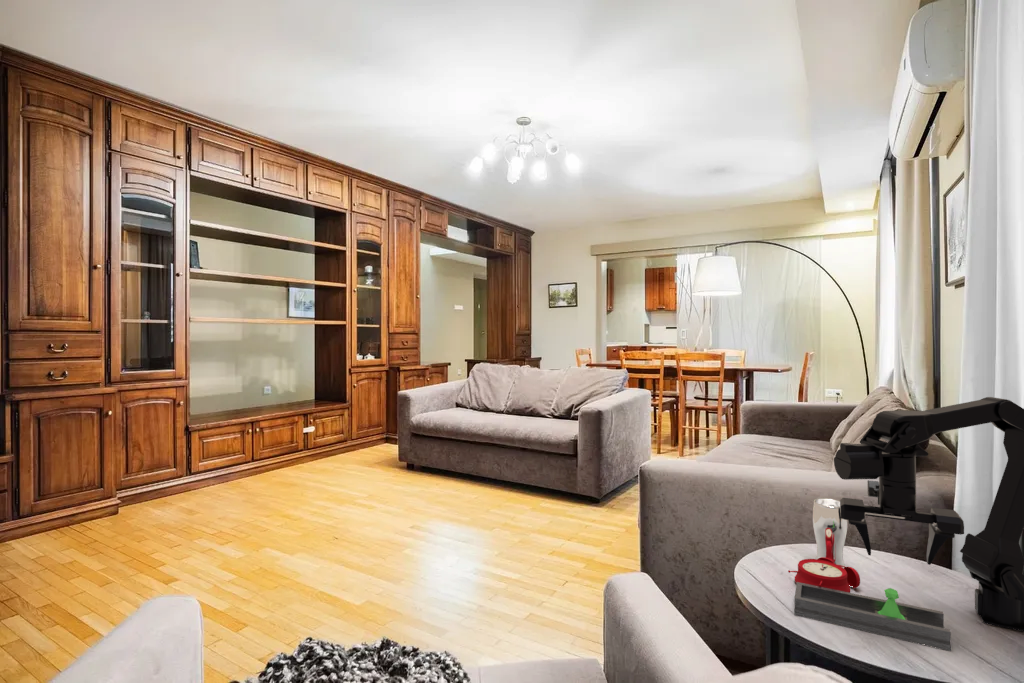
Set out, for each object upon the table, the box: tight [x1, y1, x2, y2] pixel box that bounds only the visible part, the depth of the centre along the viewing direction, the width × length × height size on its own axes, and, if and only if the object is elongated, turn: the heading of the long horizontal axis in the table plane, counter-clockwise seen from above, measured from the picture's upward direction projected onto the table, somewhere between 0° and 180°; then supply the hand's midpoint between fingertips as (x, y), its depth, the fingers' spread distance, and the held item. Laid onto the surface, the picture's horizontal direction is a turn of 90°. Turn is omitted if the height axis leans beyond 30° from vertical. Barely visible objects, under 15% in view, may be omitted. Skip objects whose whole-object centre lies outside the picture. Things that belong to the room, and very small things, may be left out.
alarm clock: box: [787, 557, 861, 593], centre depth 115 cm, size 10×6×15 cm
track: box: [794, 582, 952, 652], centre depth 101 cm, size 24×9×3 cm, turn 59°
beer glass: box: [812, 497, 848, 568], centre depth 124 cm, size 7×7×15 cm
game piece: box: [878, 587, 906, 620], centre depth 99 cm, size 4×4×6 cm
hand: (898, 559), depth 101 cm, fingers open, 9 cm apart
